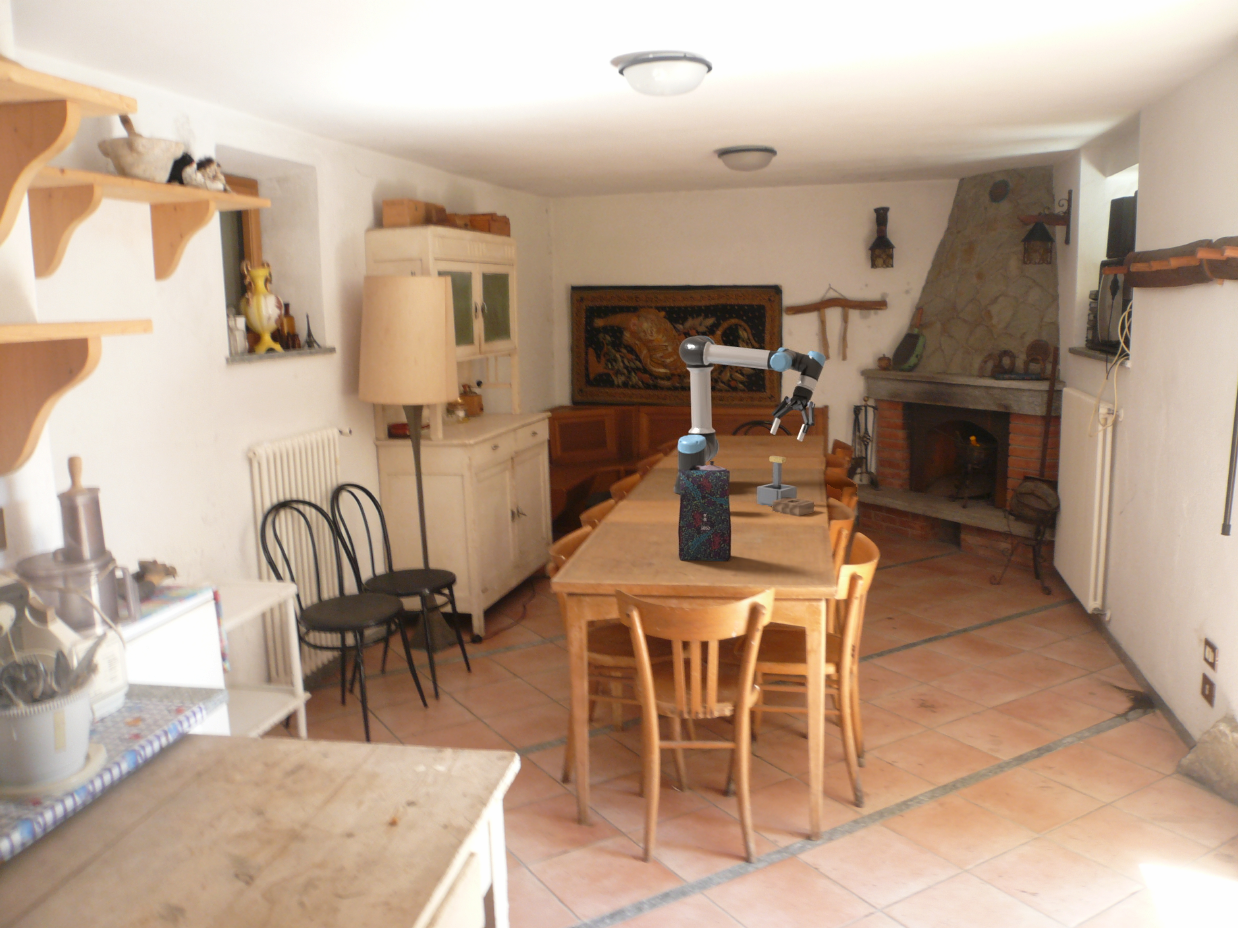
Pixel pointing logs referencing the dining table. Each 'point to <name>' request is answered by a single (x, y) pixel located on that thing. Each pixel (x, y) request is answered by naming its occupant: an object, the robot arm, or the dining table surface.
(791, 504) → the block
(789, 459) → the dining table surface
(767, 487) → the grey square box
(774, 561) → the dining table surface
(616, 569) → the dining table surface
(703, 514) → the decorative box
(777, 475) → the t key
